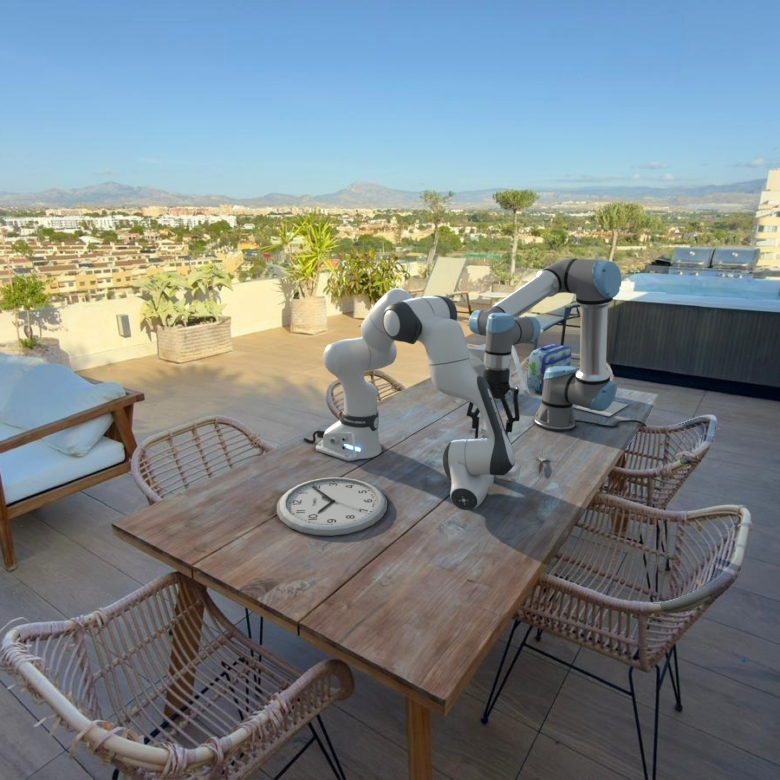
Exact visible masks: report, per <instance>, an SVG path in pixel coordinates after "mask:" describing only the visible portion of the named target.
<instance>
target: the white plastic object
mask: <svg viewBox="0 0 780 780" xmlns="http://www.w3.org/2000/svg"><path fill="white" fill-rule="evenodd" d="M467 346H468V350H469V355H470V360H471V364H472V366H473V368H474V370H475V371H476V373H477V374H478V375H479V376H481V377H483V370H484V367H485V366H484V355H485V347H486V343H483V344H479V345H473V346H469V345H468V344H467ZM511 360H513V363H514V366H515V369H516V372H517V376H518V380H519V382H520V385H521V389H522V391H523V393H524V395H525V396H526V397H528V396H531V395H530V390H529V389H528V387H527V380H526V378H525V375H524V371H523V369H522V368H523V367H522V366H521V362H520V359H519V355H518V352H517V349H516V347H515V346H514V345H512V352H511ZM509 385H510V386H511V387H515V385H514V381H513V378H512V375H511V374H510V376H509ZM509 393H511V391H510V390H509Z"/></svg>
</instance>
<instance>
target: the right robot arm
mask: <svg viewBox="0 0 780 780" xmlns="http://www.w3.org/2000/svg"><path fill="white" fill-rule="evenodd" d="M621 287H622V273H621V269H620V268H619V266H618V265H617V264H616V263H615V262H614V261H612V260H605V259H591V258H574V257H573V258H565V259H561V260H559V261H557V262H554V263H552V264H550V265H548V266H546V267H545V268H543V269H541V270H540V271H538V272H537V273H536V275H535V277H534V278H533V279H531V280H530V281H529V282H527V283H526V284H524V285H522V286H521V287H519V288H518V289H517V290H515V291H514V292H512V293H510V294H509V295H508V296H507V297H505V298H503V299H502V300H500V301H499V302H497V303H496V304H494V305H493V306H491V307H490V308H489V309H488V308H487V310H483V309H479V310H478V309H477V310H475V311H473V312H472V313H471V314H470V315H469V319H468V327H469V328H468V329H469V330H470V332H471V333H473V334H475V335H479V336H483V337H485V344H486V347H485V355H484V366H485V367H484V370H483V377H484V378H485V379H486V381H487V382H488V384H489V386H490V389H491V391H492V394H493V396H494V399H495V400H500V403H501V405H502V407H503V409H504V412H505V415H506V417H507V419H506V421H505V431H506V433H507V435H508V436H509V433H512V432H513V427H514V423H515V422H520V419H521V416H520V405H519V397H518V396H519V392H520V387H518V386H516V387H515V386H514V387H511V386H510V385H509V376H510V375H511V369H510V367H511V362H512V359H511V352H512V345H513V346H514V345H520V344H528V343H530V342H533V341H536V340H537V339H538V338H539V336H540V334H541V331H542V329H541V328H542V327H541V323H540V321H539V319H537V318H536V317H534V316H527V315H524V316H522V315H523V314H526V312H528V311H529V310H531V309H532V308H534V307H535V306H536V305H538V304H539V303H541V302H542V301H544V300H545V299H547V298H551V297H555V296H556V295H558V294H563V293H565V294H566V293H567V294H572V295H573V294H574V295H575V303H576V304H578V306H580V320H579V321H580V322H579V324H580V325H579V326H580V327H579V328H580V329H579V330H580V331H579V332H580V333H579V335H580V336H579V353H580V354H579V369H578V368H577V367H576V366H571V365H570V366H554V367H550V368H547V369H546V371H545V374H544V378H543V379H544V381H543V391H542V393H541V402H540V405H539V407H538V410H537V411H536V413H535V417H534V424H535V425H536V426H537V427H539V428H542V429H544V430H549V431H556V432H567V431H572V430H574V429H575V428H576V423H580V424H587V425H593V426H599V427H603V428H617V427H618V426H619V425H620V424H621V423H638V424H640V425H642V426H643V427H644V428H645V427H647V426H648V425H646V423H644V422H643V421H641V420H637V419H623V420H618V421H617V422H616V423H615V424H610V425H609V424H603V423H598V422H592V421H587V420H580V419H576V418H575V417H576V416H575V413H574V407H573V405H574V406H581V407H585V408H588V409H590V410H596V411H604V410H606V409H607V408H608V407H609V406H610V405H611V403H612V401H614V400H615V398H616V394H617V390H618V385H617V383H616V382H615V381H613V380H611V372H610V371H609V370H607V347H608V346H607V344H608V343H607V341H608V315H609V314H608V313H609V310H608V309H609V305H610V304H611V303H612V302H613V301H614V298H616V296H617V295H618V294H619V293H620V291H621V289H620V288H621ZM510 391H511V392H510ZM508 392H510V394H511V395H512V400H513V401H512V402H513V410H514V411H513V412H514V415H513V413H512V410H511V408H510V405H509V403H508V401H507V400H508V399H507V397H506V395H507V394H508ZM473 408H474V404H473V403H471V402H470V401H469V403H468V407H467V410H466V416H467V418H468V417H470V418H471V421H472V422H471V428H472V430H473V429H474V430H475V431H474V432H475V433H474V439H475V438H479V429H480V416H479V414H480V411H479V409H478V408H477V407H476V408H475V410H474V412H473Z"/></svg>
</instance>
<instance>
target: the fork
mask: <svg viewBox="0 0 780 780" xmlns="http://www.w3.org/2000/svg"><path fill="white" fill-rule="evenodd" d="M547 458H548V451H546V450H544V449H542V451H541V449H540V450H539V454H538V460H539V461H540V463H539V464H538V474H541V472H542V469H543V467H544V465H543V464H544V463H543V462H544V461H546V460H547Z"/></svg>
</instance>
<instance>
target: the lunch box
mask: <svg viewBox="0 0 780 780" xmlns="http://www.w3.org/2000/svg"><path fill="white" fill-rule="evenodd" d="M571 361H572V348H571V347H570V346H567V345H566V346H565V345H561V344H556V343H555V344H554V343H553V344H548V345H545V346H541V347H539V348H536V349H534V350H532V351H531V353H530V355H529V357H528V363H527V375H526V384H527V387H528V390H529V391H532V392H533V391H534V392H539V393H540V394H542V391H543V381H544V379H543V378H544V374H545V371H546V369H547V368H550V367H554V366H571Z"/></svg>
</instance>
